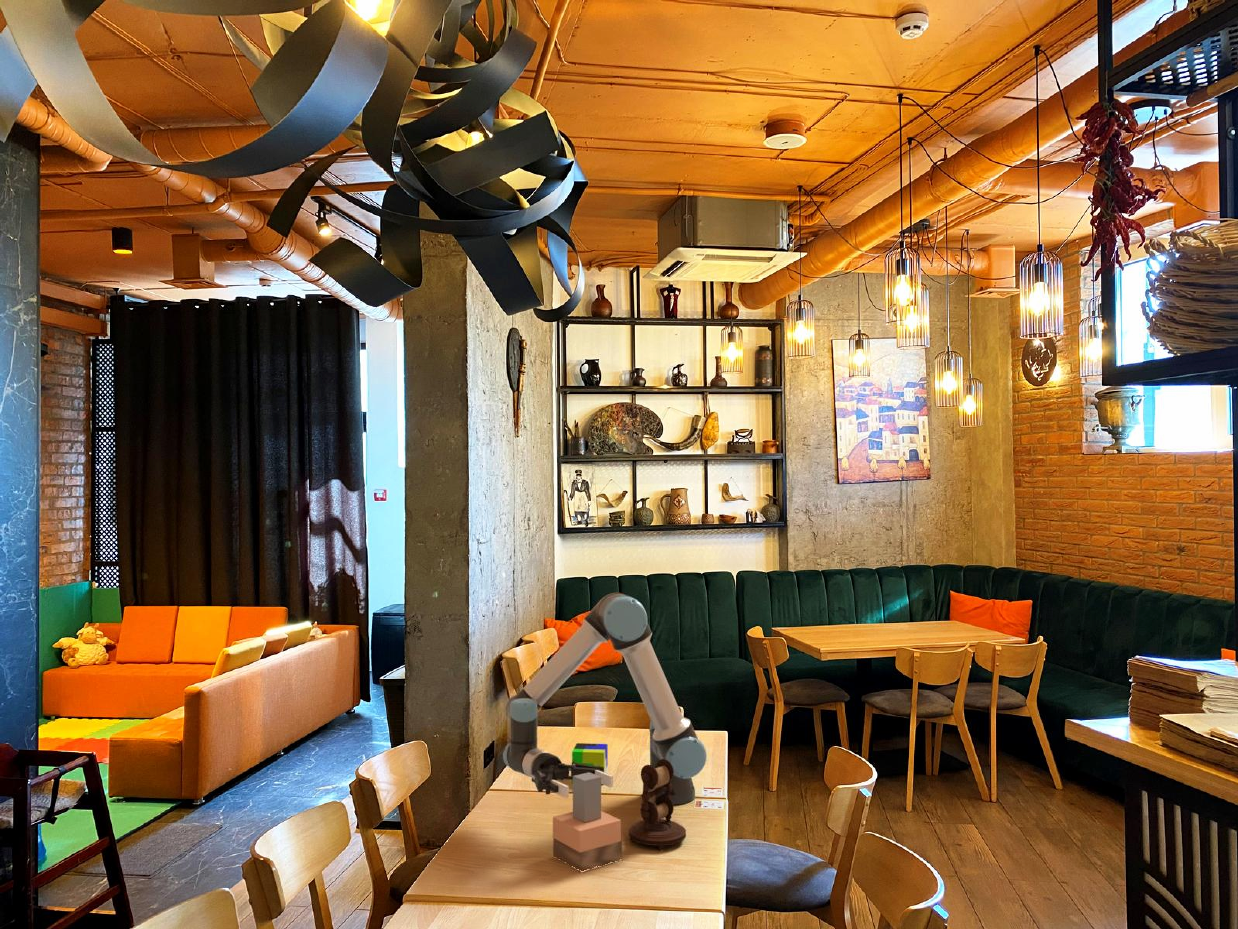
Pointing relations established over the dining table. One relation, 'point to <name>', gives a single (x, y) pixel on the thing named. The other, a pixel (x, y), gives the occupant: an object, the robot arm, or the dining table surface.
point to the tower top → (586, 831)
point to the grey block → (586, 797)
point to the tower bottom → (588, 855)
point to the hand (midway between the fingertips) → (590, 787)
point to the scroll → (657, 809)
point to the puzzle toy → (591, 755)
